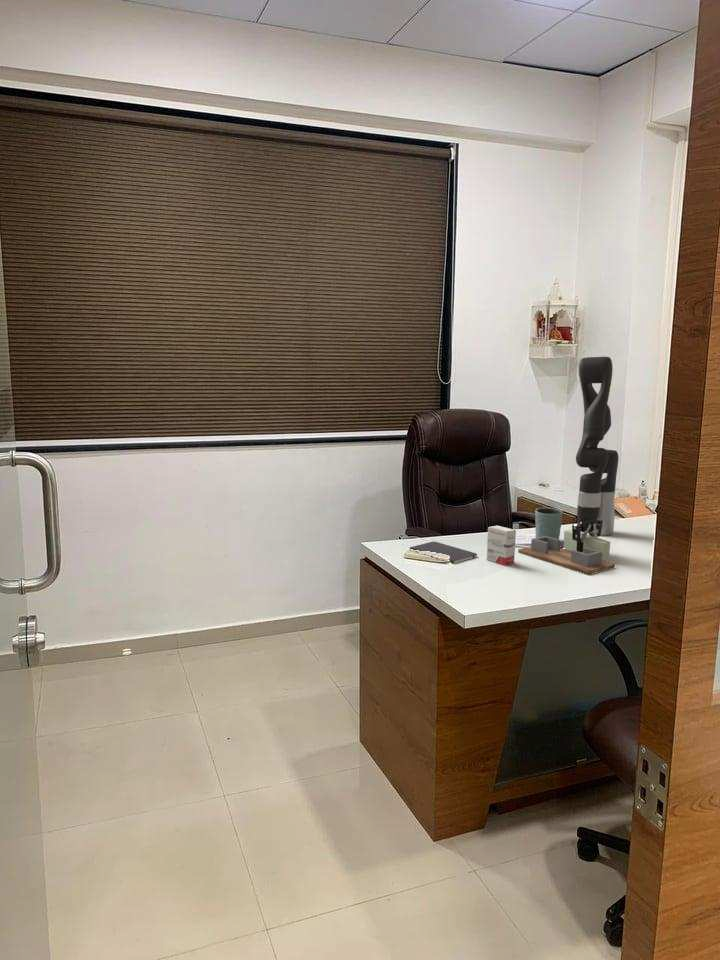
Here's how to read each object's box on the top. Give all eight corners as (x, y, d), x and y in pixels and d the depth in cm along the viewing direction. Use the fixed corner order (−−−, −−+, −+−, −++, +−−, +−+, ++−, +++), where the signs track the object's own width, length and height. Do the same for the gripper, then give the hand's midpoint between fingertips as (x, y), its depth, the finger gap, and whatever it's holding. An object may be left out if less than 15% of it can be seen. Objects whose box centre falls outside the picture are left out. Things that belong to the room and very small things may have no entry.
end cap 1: (545, 546, 253) (545, 535, 253) (559, 550, 248) (560, 540, 247) (530, 549, 249) (531, 538, 249) (545, 554, 244) (546, 543, 243)
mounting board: (544, 546, 258) (545, 543, 258) (614, 567, 233) (615, 564, 233) (518, 552, 250) (518, 549, 250) (587, 575, 226) (588, 571, 225)
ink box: (514, 563, 238) (516, 529, 236) (505, 565, 235) (507, 531, 233) (495, 557, 244) (496, 524, 242) (485, 559, 241) (487, 526, 239)
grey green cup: (549, 536, 271) (551, 506, 269) (567, 543, 262) (569, 512, 260) (528, 539, 267) (529, 508, 265) (545, 546, 258) (546, 514, 256)
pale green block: (570, 548, 256) (571, 529, 255) (608, 561, 241) (610, 541, 240) (563, 549, 255) (564, 530, 254) (601, 562, 239) (603, 543, 238)
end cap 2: (587, 567, 230) (587, 555, 229) (570, 562, 235) (571, 550, 234) (601, 563, 234) (602, 552, 233) (584, 558, 239) (585, 547, 238)
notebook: (409, 551, 253) (453, 565, 237) (409, 547, 252) (453, 560, 236) (433, 545, 261) (478, 558, 245) (434, 541, 260) (478, 553, 245)
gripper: (593, 499, 251) (590, 544, 255) (566, 504, 243) (563, 551, 247) (611, 503, 245) (607, 549, 249) (584, 508, 237) (581, 556, 241)
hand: (585, 550), depth 248 cm, fingers open, 6 cm apart
